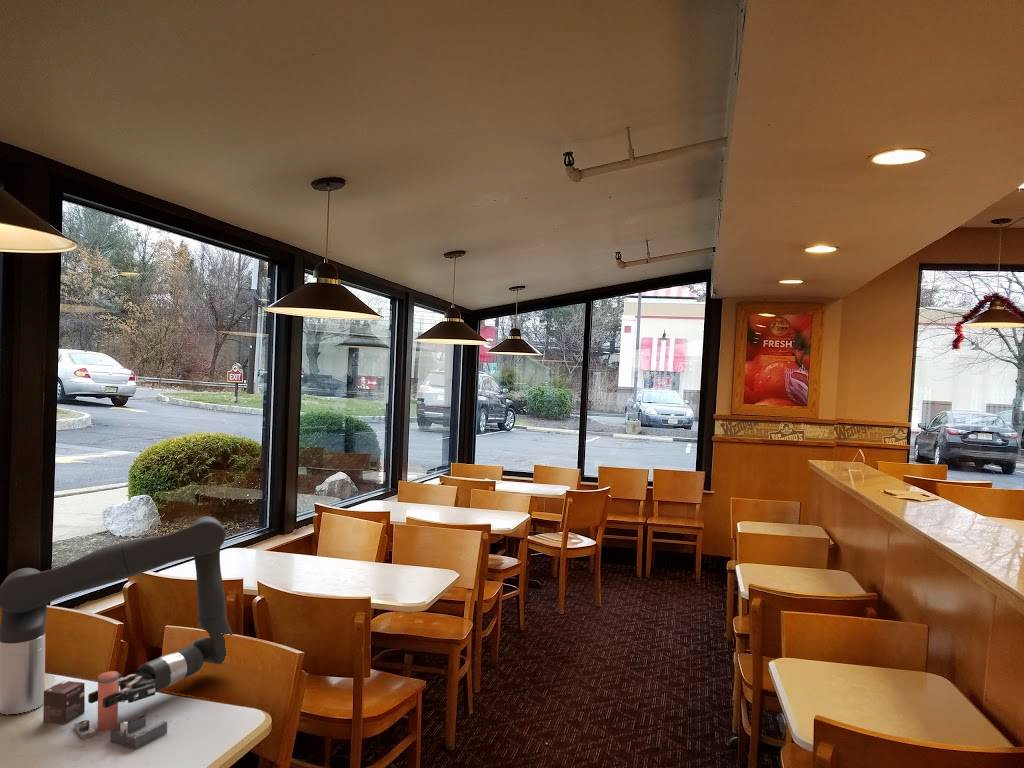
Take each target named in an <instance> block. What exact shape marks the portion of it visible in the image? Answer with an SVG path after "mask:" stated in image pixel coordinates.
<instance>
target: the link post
mask: <svg viewBox="0 0 1024 768" xmlns="http://www.w3.org/2000/svg"><path fill="white" fill-rule="evenodd" d="M119 674H120V673H119V672H118V671H117V670H116V671H115V670H109V671H104V672H102V673H99V675H98V676H97V690H98V701H97V730H98V731H100V732H107V731H110V730H112V729H114V728H116V727H118V726H119V725H118V724H119V715H118V714H119V702H118V703H116V704H114V705H112V706H110V707H107V708H104V707H103V699H104V698H105V697H107V696H110V695H112V694H114V693H116V692H118V678H119Z"/></svg>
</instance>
